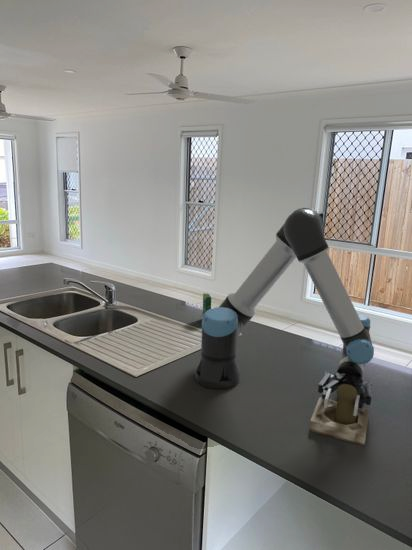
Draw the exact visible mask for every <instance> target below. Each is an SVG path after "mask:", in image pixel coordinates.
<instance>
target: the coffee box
mask: <svg viewBox="0 0 412 550" xmlns="http://www.w3.org/2000/svg"><path fill="white" fill-rule="evenodd" d="M209 309H212V296H211V295H210V294H209V292H205V293H203V294H202V316H203V315H204V313H205V312H206V311H207V310H209Z"/></svg>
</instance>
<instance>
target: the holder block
mask: <svg viewBox="0 0 412 550" xmlns="http://www.w3.org/2000/svg"><path fill="white" fill-rule="evenodd" d="M324 401H325V399H322V396H319V397H318V400H317V403H316V406H315V407H314V411H313V413H312V416H311V418H310V421H309V422H310V423H309V431H310V432H314V433H317V434H321V435H324V436H327V437H329V438H330V437H331V438H334V439H337V440H341V441H344V442H349V443H352V444H356V445H359V446H363V447H365V444H366V438H367V430H368V424H369V418H370V417H369V416H370V408H366V407H363V408H362V409H361V408H358V410H357V416H356V423H354V424H349V425H344V424H340V423H336V422H334V418H335V413H336V408H337V403H338V400H334V399H330V400H329V403H328V406H327V409H326V408H324Z"/></svg>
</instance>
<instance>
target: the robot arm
mask: <svg viewBox="0 0 412 550" xmlns="http://www.w3.org/2000/svg"><path fill="white" fill-rule="evenodd" d="M324 228H325V224H324V219H323V218H322V215H321V214H320V213H319V212H318V211H316V210H314V208H310V207H301V208H298V209H295V210H294V211H293V212H291V213H290V214H289V215H288V217H286V219H285V221H284V223H283V224H282V226H281V227H280V229H278V231H277V232H276V234H275V242H274V243H273V244H272V246H271V247H270V248H269V250H268V251H267V252H266V253H265V255H264V256H263V257H262V259H261V260H260V261H259V262H258V264H256V266H255V268H254V269H253V270H252V271H251V273H250V274H249V275H248V276H247V277H246V279H245V280H244V281H243V282H242V284H241V285H240V286H239V288H238V289H237V290H236V292H234V293H232V292H231V293H229V294H228V295H227V296H226V298H225V299H224V300H223V301H222V303H221V304H219V306H218V307H214V308H211V309H209V310H207V311H206V312H205V313H204V315H203V314H202V319H201V347H200V348H201V352H200V358H199V361H198V364H197V365H196V366H197V367H196V369H195V371H194V373H195V374H194V375H195V377H194V379H195V381H196V382H197V383H198V384H199V383H200V384H199V385H201V386H202V387H206V388H209V389H213V390H214V389H215V390H223V389H229V388H230V389H231V388H233V387H235V386H237V385H238V384H239V383H240V379H241V374H240V373H241V372H240V369H239V364H238V361H237V358H236V357H237V343H238V342H237V340H238V337H239V336H240V335H239V334H240V333H242V331H243V330H244V328H245V327H246V325H247V324H248V323H249V322H250V321H251V320H252V318H253V317H254V316H255V313H256V312H255V308H256V307H257V306H258V305H259V303H261V301H262V299H264V297H265V296H267V294H268V292H269V291H270V290H271V289H272V288H273V286H274V285H275V283H277V281H278V280H279V279H280V278H281V276H282V275H283V274H284V273H285V272H286V270H288V268H289V267H290V265H291V264H293V262H294V261H295V259H297V261H298V262H299V263H302V264H303V265H304V266H305V269H306V271H307V273H308V275H309V277H310V279H311V281H312V283H313V285H314V287H315V289H316V291H317V293H318V295H319V297H320V299H321V301H322V303H323V305H324V307H325V308H326V309H325V310H326V311H327V313H328V315H329V317H330V319H331V320H332V323H333V325H334V328H335V329H336V330H337V331H336V332H337V333H338V335H339V337H340V339H341V341H342V352H341V358H340V362H339V364H338V367H337V370H336V372H335V373H334V374H331V373H330V372H329V371H324V376H323V378H322V379H321V380H320V382H318V388H317V393H319V394H322V396H321V397H322V399H325V401H324V408H326V409H327V406H328V403H329V400H331V395H332V393H334V392H335V391H337V388H338V387H339V386H340V385H342V384H348V385H351V386H353V387H355V389H356V390H357V396H356V398H355V407H354V414H353V415H354V416H357V410H358V408H361V409H362V408H364V404H366V405H367V406H371V404H372V395H373V394H372V387H373V381H370V380H368V381H364V380H363V375H364V371H365V365H366V364H368V363H370V362H372V360H373V358H374V356H375V355H374V354H375V347H374V345H373V342H372V338H371V334H370V329H371V319H370V318H369V317H368V316H367V315H362V314H358V312H357V310H356V308H355V306H354V304H353V302H352V300H351V299H350V296H349V294H348V291H347V289H346V288H345V286H344V283H343V282H342V279H341V278H340V275H339V274H338V271H337V269H336V267H335V265H334V263H333V261H332V259H331V256H330V254H329V248H330V247H329V245H328V243H327V241H326V236H325V234H324ZM361 387H362V388H363V390H364V392H363V391H362V389H361Z"/></svg>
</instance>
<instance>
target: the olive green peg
mask: <svg viewBox="0 0 412 550" xmlns="http://www.w3.org/2000/svg"><path fill="white" fill-rule="evenodd" d="M336 395H337V396H338V398H337V401H338V403H337V408H336V413H335V418H334V422H336V423H340V424H344V425H349V424H354V423H356V416H354V415H353V414H354V407H355V402H356V396H357V390H356V389H355V387H353V386H351V385H348V384H342V385H340V386H339V387H338V388H337V390H336Z"/></svg>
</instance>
